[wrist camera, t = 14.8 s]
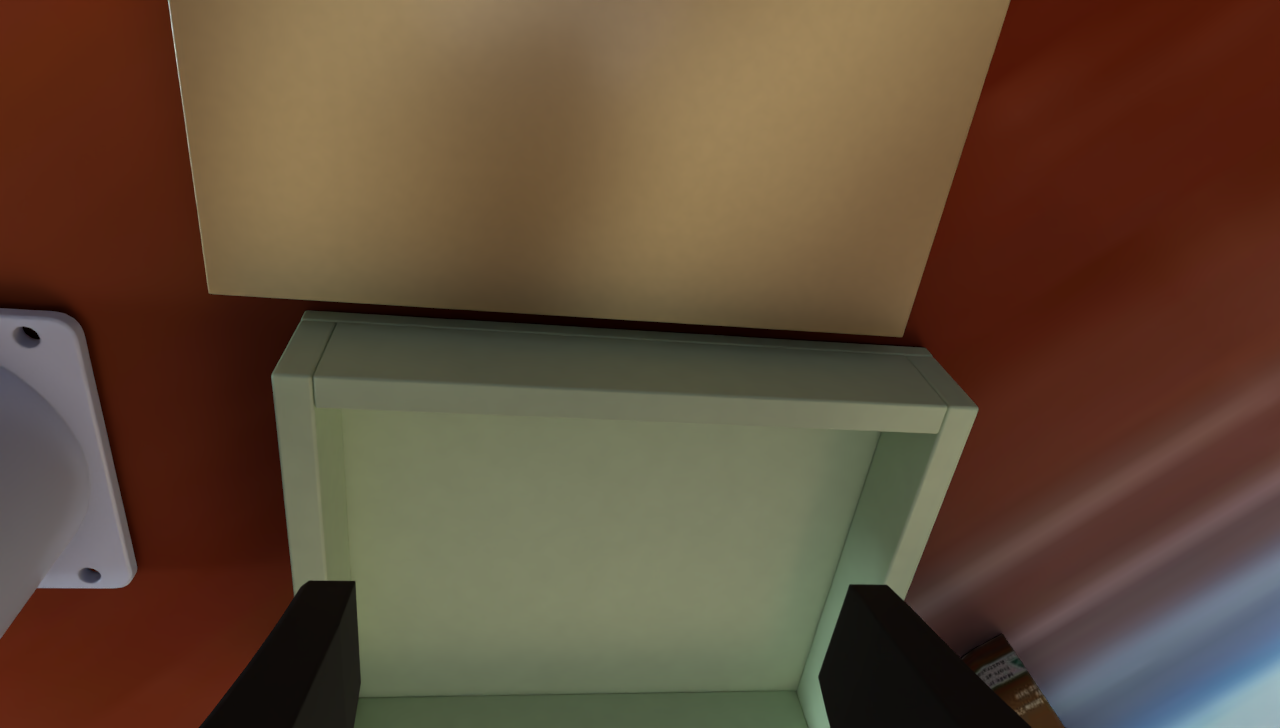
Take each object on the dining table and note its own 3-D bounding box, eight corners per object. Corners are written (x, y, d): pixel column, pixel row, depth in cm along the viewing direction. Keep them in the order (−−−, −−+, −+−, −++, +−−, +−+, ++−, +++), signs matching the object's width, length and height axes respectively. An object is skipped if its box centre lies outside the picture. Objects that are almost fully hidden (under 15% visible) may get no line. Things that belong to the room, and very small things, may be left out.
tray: (335, 701, 25) (313, 792, 23) (304, 309, 19) (269, 373, 16) (808, 692, 28) (837, 773, 25) (926, 347, 21) (981, 407, 19)
